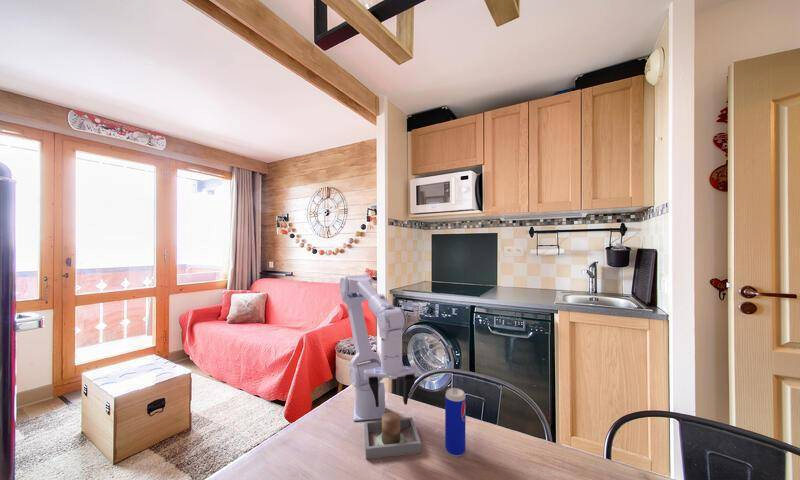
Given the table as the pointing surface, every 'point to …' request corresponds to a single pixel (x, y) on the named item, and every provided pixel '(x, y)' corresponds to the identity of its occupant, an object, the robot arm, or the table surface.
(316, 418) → the table surface
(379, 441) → the coaster
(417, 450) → the grey rectangular frame
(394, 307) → the robot arm
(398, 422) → the walnut cylinder
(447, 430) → the beverage can
